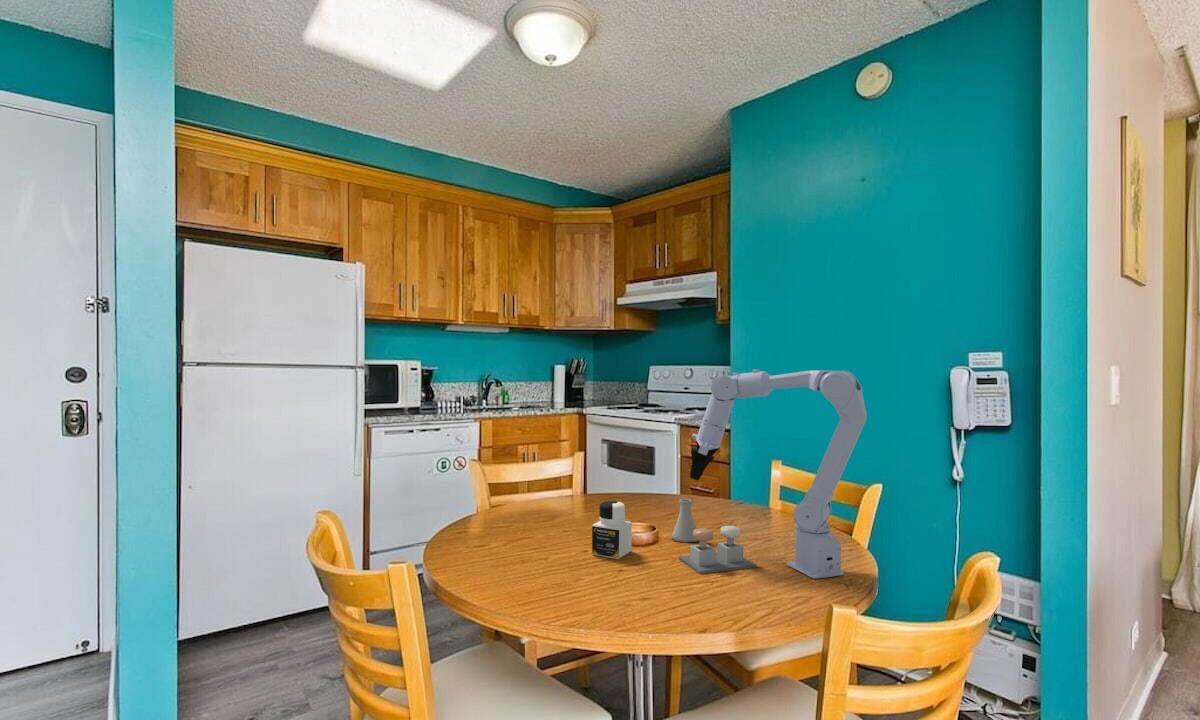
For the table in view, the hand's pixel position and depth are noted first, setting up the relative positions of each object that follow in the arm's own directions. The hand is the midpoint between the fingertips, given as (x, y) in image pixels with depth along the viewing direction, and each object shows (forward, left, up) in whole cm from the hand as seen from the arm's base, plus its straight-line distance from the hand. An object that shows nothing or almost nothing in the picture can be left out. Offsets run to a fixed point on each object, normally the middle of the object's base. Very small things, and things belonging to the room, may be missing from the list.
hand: (696, 474), depth 145 cm
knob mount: (-11, +1, -18) cm, 21 cm away
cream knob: (-11, -3, -15) cm, 19 cm away
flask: (+8, -1, -18) cm, 20 cm away
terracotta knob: (-11, +4, -15) cm, 19 cm away
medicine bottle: (+3, +21, -18) cm, 28 cm away
